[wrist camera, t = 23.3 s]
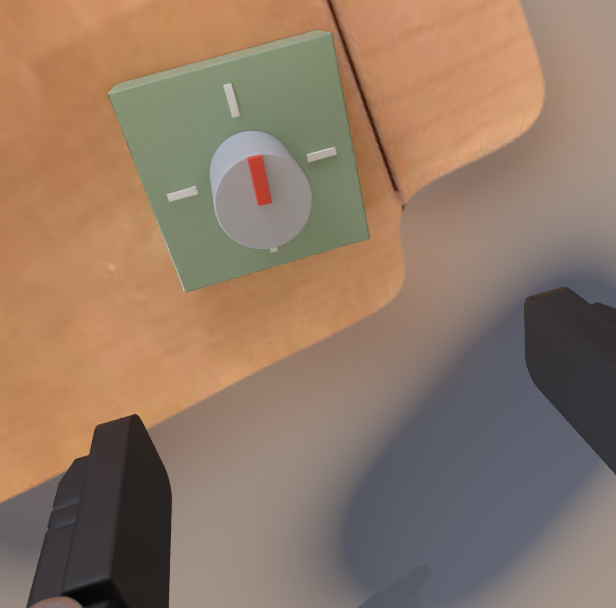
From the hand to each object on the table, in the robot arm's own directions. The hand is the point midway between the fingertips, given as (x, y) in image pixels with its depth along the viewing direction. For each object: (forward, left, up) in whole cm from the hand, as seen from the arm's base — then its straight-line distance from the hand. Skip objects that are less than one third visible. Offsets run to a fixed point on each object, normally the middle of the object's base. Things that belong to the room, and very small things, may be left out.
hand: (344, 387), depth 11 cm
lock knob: (0, 0, -17) cm, 17 cm away
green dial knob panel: (0, 0, -21) cm, 20 cm away
